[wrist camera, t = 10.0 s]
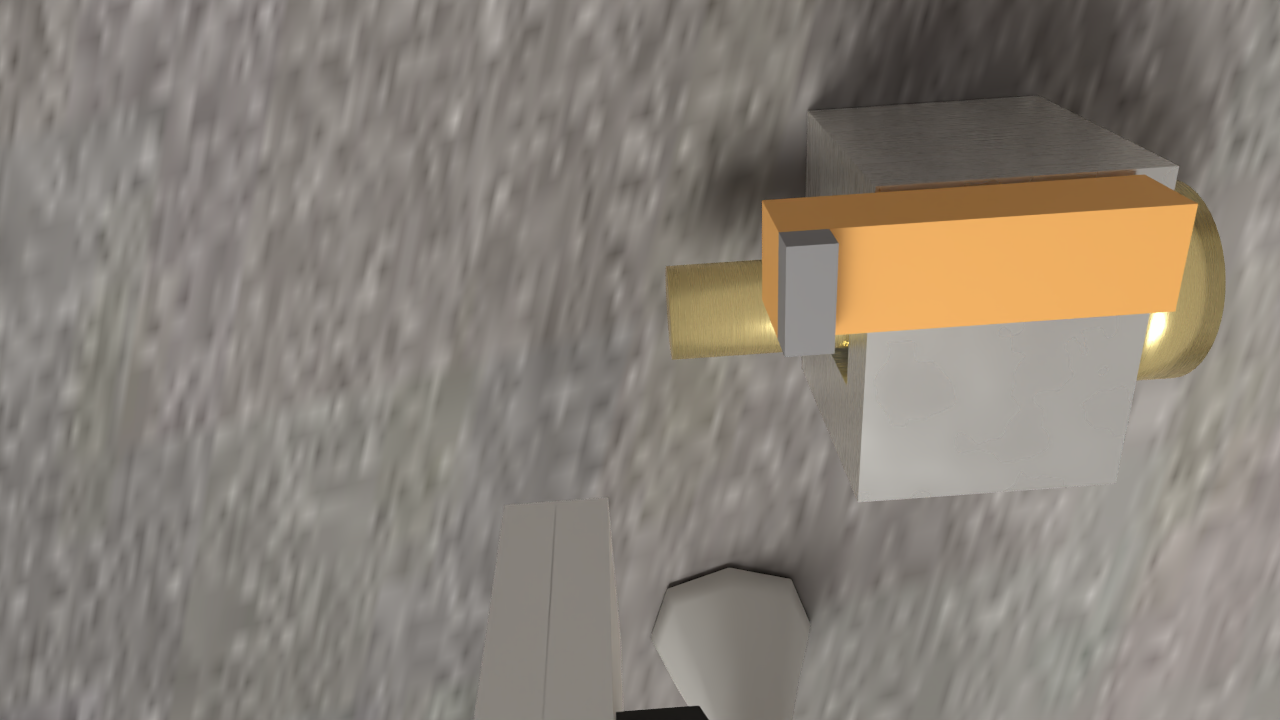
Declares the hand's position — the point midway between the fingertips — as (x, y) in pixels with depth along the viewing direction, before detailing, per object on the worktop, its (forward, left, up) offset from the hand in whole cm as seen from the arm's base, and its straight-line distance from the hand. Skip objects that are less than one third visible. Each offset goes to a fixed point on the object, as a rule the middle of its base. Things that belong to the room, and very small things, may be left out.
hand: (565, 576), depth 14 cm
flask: (+21, +5, -22) cm, 31 cm away
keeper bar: (0, +10, -13) cm, 16 cm away
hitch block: (+3, +12, -22) cm, 25 cm away
